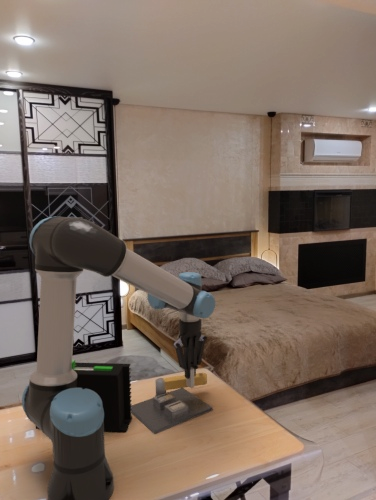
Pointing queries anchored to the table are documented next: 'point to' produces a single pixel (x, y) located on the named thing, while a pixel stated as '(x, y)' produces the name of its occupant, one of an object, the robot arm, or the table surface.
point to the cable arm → (178, 382)
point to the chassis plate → (161, 418)
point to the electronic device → (108, 391)
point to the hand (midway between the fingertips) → (190, 386)
